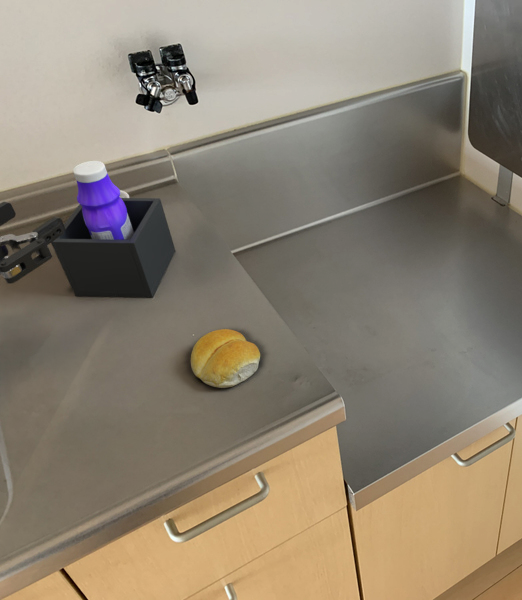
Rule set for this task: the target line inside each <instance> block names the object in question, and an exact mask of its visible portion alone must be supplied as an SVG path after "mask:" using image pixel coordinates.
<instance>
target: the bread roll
mask: <svg viewBox="0 0 522 600" xmlns="http://www.w3.org/2000/svg"><path fill="white" fill-rule="evenodd" d="M260 360H261V353H260V349H259V347H258V346H257V345H256V344H255V343H253V342H251V341H247V339H246V338H245V336H244V335H243V334H242V333H241V332H239V331H237V330H234V329H228V328H222V329H215V330H212V331H210V332H207V333H206V334H204V335H203V336H202V337H200V338H199V339H198V340H197V341H196V343H195V344H194V345H193V348H192V351H191V355H190V366H191V370H192V373H193V375H195V377H197V378H198V379H200V380H201V381H202V382H203V383H204V384H206V385H208V386H211V387H214V388H219V389H226V388H231V387H235V386H237V385H238V384H240V383H243V382H244V381H246V380H247V379H249V378H250V377H252V376H253V375H254V374H255V373H256V372H257V370H259V369H258V368H259V362H260Z"/></svg>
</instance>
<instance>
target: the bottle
mask: <svg viewBox="0 0 522 600" xmlns="http://www.w3.org/2000/svg"><path fill="white" fill-rule="evenodd" d="M72 173H73V175H74V179H75V181H76V184H77V196H76V202H77V203H78V205H79V204H80V205H81V206H82V212H83V217H84V221H85V224H86V226H87V228H88V230H89V232H90V235H91V237H92V239H112V240H131V238H132V236H133V235H134V231H133V228H132V225H131V222H130V219H129V216H128V213H127V209H126V206H125V204H124V202H123V200H122V199H121V198H120V197H119V196H120V190H121V189H120V188H119V187H118V186H117V185H116V184H114V183H113V181H112V180H111V178H110V176H109V174H108V170H107V167H106V165H105V163H104V162H102V161H100V160H90V161H89V160H87V161H84V162H80V163H79V164H77V165H76V166H74V167H73V170H72Z"/></svg>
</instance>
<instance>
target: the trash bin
mask: <svg viewBox="0 0 522 600" xmlns="http://www.w3.org/2000/svg"><path fill="white" fill-rule="evenodd" d="M121 199H122V200H123V202H124V204H125V206H126V209H127V213H128V216H129V219H130V222H131V225H132V228H133V231H134V235H133V236H132V238H131V240H112V239H92V237H91V235H90V232H89V230H88V228H87V226H86V224H85V221H84V217H83V212H82V206H81V205H80V204H79V203H78V205H77V206H76V208H75V209H74V211H73V212H72V213H71V214H70V216H69V217H68V219H67V220H65V222H64V223H63V224H64V226H65V232H64V234H63V235H61V236H60V237H59V238H57V239H56V240H54V241H53V242H51V243H50V244H51V246H52V248H53V250H54V252H55V255H56V256H57V259H58V261H59V264H60V266H61V268H62V270H63V273H64V275H65V276H66V279H67V281H68V283H69V286H70V287H71V289H72V291H73V294H74V295H75V297H93V298H94V297H98V298H154V296H155V294H156V292H157V290H158V288H159V286H160V284H161V282H162V279H163V278H164V276H165V273H166V272H167V269H168V268H169V265H170V263H171V262H172V259H173V257H174V256H175V253H176V248H175V244H174V240H173V238H172V234H171V230H170V226H169V224H168V221H167V217H166V214H165V210H164V206H163V203H162V200H161V198H160V197H159V198H158V197H157V198H156V197H154V198H153V197H129V198H121Z"/></svg>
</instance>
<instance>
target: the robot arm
mask: <svg viewBox="0 0 522 600" xmlns="http://www.w3.org/2000/svg"><path fill="white" fill-rule="evenodd" d="M15 217H16V211H15V209H14V207H13V204H12V203H10V202H7V201H2V202H0V227H1V226H3V225H5V224H6V223H8V222H9V221H12V219H14V218H15ZM64 224H65V223H64V222H63V219H62V218H61V217H57V216H52V217H51V218H50V219H48V220H47V221H45V222H44V223H42V224H41V225H39V226H38V227H36V228H34V229H33V230H32V231H31V232H28V233H22V234H20V235H15V234H14V233H13V234H12V233H8V234H5V235H1V236H0V276H2V277H3V279H4V280H5V282H6V283H7V284H14V283H16V282H18V281H20V280H21V279H23V278H24V277H25V276H27V275H28V274H30V273H32V272H33V271H34V270H36V269H38V268H39V267H40V266H42V265H44V264H46V263H47V262H48V261H50V260H51V259H52V258H53V254H52V253H51V250H50V248H49V245H50V244H51V242H53V241H54V240H56V239H57V238H59V237H60V236H61V235H63V234H64V232H65V226H64ZM27 243H29V244H27ZM23 244H27V245H25V246H24V247H22V248H21V246H20V245H23ZM7 246H9V247H10V248H11V251H12V252H13V253H12V254H11V255H9V249H8V247H7ZM33 256H35V257H33Z"/></svg>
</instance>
